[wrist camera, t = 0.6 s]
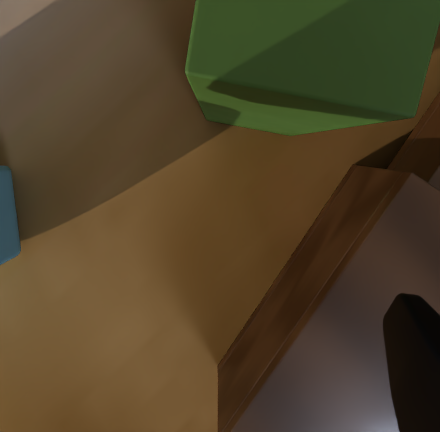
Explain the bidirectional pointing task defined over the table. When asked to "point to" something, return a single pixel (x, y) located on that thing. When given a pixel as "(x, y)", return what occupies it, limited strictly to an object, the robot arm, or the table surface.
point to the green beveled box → (310, 61)
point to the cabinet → (335, 312)
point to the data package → (8, 218)
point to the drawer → (422, 148)
